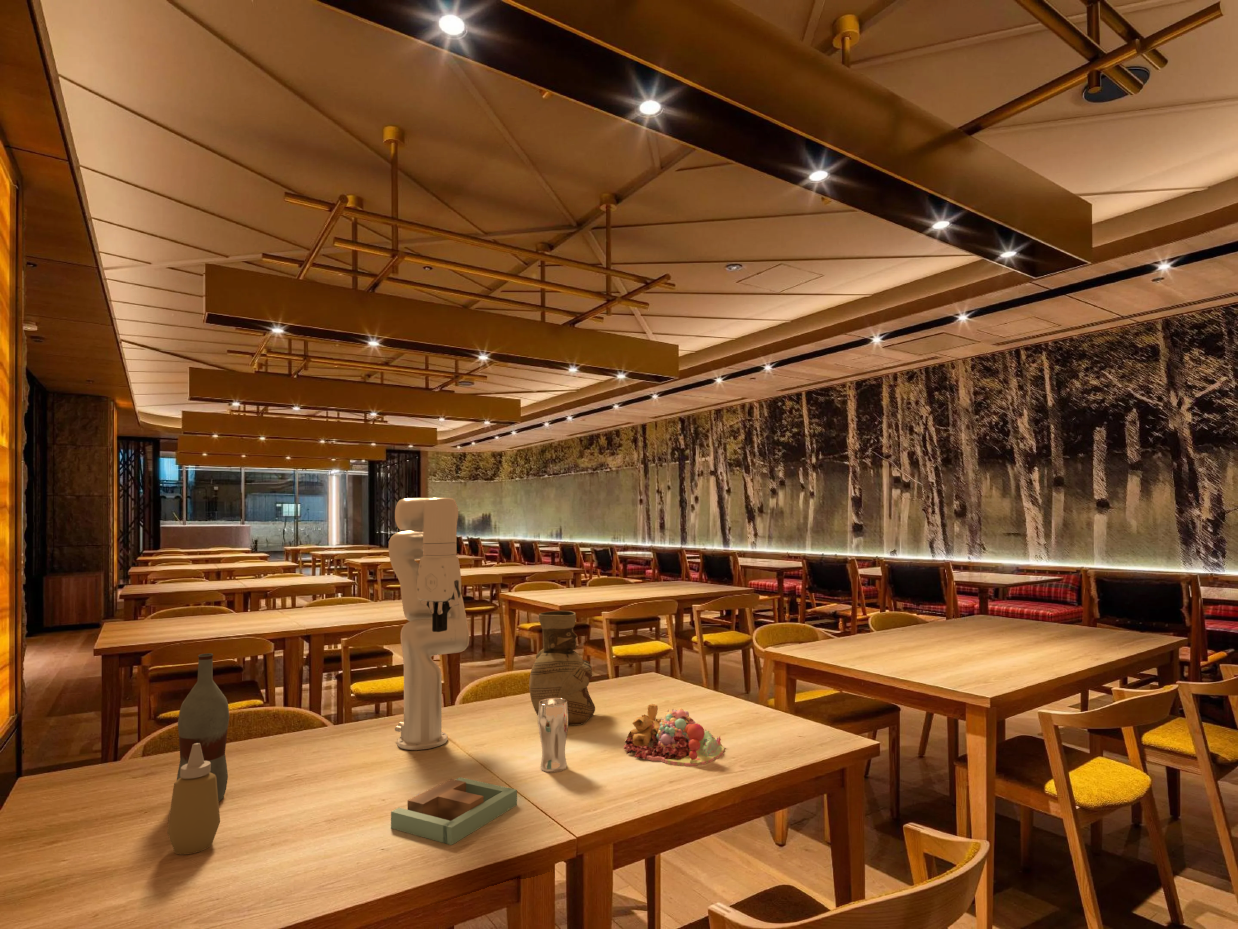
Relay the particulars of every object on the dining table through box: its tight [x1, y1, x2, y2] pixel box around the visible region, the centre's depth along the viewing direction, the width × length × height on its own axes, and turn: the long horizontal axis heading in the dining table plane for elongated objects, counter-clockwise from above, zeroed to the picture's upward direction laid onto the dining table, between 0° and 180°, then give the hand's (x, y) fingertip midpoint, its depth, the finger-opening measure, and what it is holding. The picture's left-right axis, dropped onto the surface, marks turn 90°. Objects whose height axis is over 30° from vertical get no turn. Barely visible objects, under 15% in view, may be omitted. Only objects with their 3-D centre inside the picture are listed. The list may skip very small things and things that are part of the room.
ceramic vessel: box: [528, 610, 596, 726], centre depth 199 cm, size 19×21×30 cm
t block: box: [407, 778, 484, 821], centre depth 134 cm, size 12×12×4 cm
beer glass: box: [537, 698, 569, 773], centre depth 159 cm, size 7×7×15 cm
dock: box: [390, 776, 518, 846], centre depth 134 cm, size 15×19×3 cm
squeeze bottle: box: [167, 743, 221, 855], centre depth 123 cm, size 8×8×18 cm
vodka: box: [175, 652, 230, 802], centre depth 144 cm, size 9×9×30 cm
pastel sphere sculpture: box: [623, 703, 725, 767], centre depth 171 cm, size 25×24×9 cm
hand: (439, 630), depth 158 cm, fingers closed
